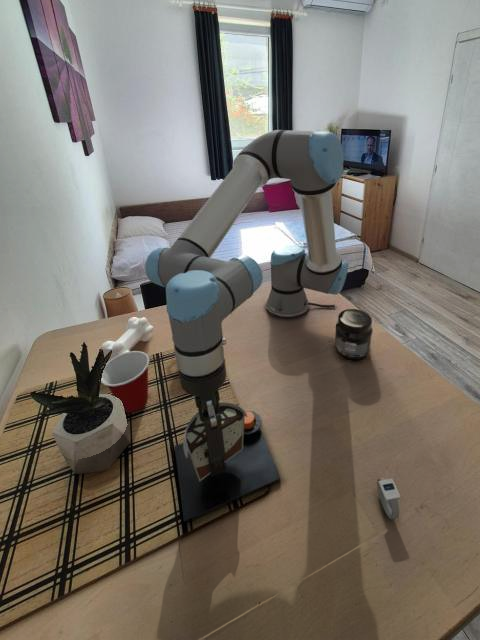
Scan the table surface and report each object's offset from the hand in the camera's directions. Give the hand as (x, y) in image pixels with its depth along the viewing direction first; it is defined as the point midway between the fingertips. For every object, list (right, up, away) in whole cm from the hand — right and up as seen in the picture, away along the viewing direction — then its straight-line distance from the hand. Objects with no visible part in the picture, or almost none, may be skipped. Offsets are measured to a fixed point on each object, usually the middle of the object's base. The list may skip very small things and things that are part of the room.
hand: (214, 455), depth 63 cm
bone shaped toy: (-33, +10, +34) cm, 48 cm away
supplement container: (+33, +10, +35) cm, 49 cm away
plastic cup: (-24, +2, +17) cm, 29 cm away
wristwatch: (+32, -7, -4) cm, 33 cm away
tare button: (+5, +2, +9) cm, 11 cm away
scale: (+2, -4, +3) cm, 5 cm away
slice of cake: (0, 0, +1) cm, 1 cm away
